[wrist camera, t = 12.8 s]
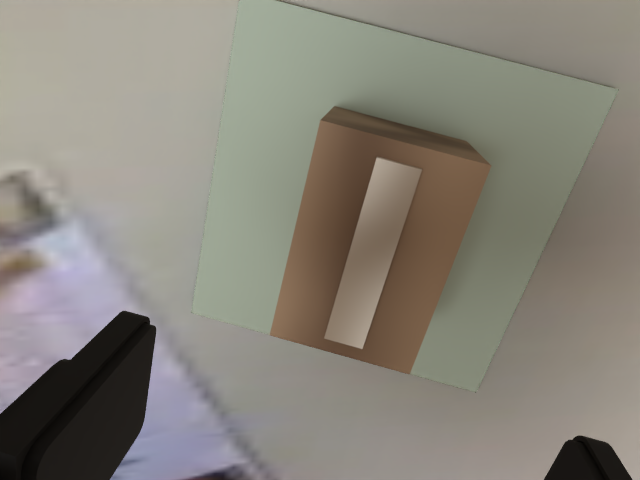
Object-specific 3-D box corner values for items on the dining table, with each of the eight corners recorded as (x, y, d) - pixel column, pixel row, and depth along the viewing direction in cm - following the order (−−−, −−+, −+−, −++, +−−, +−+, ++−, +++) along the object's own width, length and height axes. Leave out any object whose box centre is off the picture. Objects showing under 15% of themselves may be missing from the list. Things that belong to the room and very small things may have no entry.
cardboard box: (466, 141, 20) (492, 166, 16) (404, 312, 24) (409, 377, 19) (334, 105, 20) (319, 120, 16) (291, 281, 24) (268, 337, 19)
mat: (474, 387, 25) (476, 392, 25) (193, 309, 26) (191, 313, 25) (614, 89, 19) (619, 89, 19) (243, -8, 20) (240, -9, 19)
